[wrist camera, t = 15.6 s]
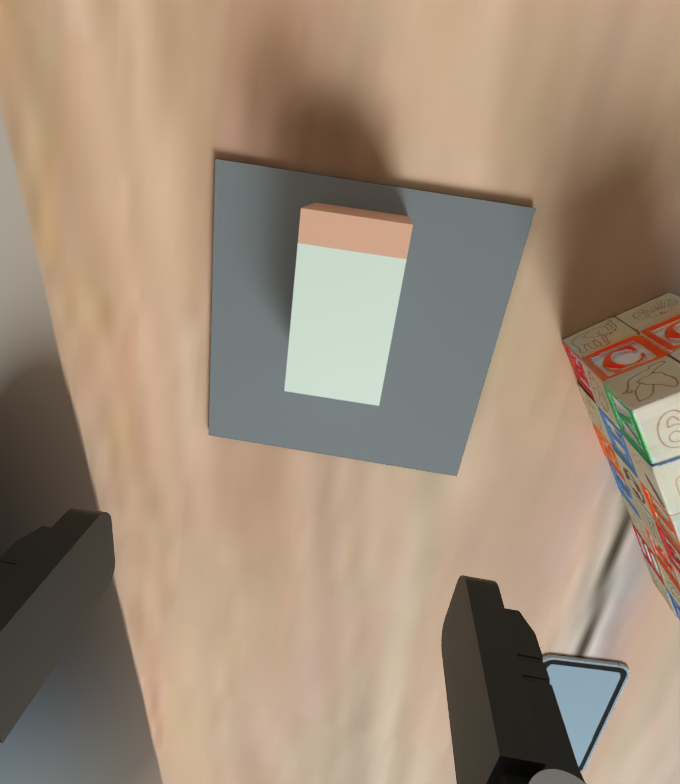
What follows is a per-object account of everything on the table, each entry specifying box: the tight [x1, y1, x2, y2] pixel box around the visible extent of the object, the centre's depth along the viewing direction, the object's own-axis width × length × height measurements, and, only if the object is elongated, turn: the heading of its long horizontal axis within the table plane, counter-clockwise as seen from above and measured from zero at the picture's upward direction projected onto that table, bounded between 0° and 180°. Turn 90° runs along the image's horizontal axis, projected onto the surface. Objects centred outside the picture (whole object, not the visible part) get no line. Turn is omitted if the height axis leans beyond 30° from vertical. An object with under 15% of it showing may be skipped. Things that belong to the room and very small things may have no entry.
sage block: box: [284, 203, 413, 406], centre depth 25 cm, size 5×5×9 cm
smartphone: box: [543, 654, 630, 773], centre depth 42 cm, size 7×1×15 cm
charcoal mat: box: [209, 159, 536, 476], centre depth 29 cm, size 17×17×1 cm
